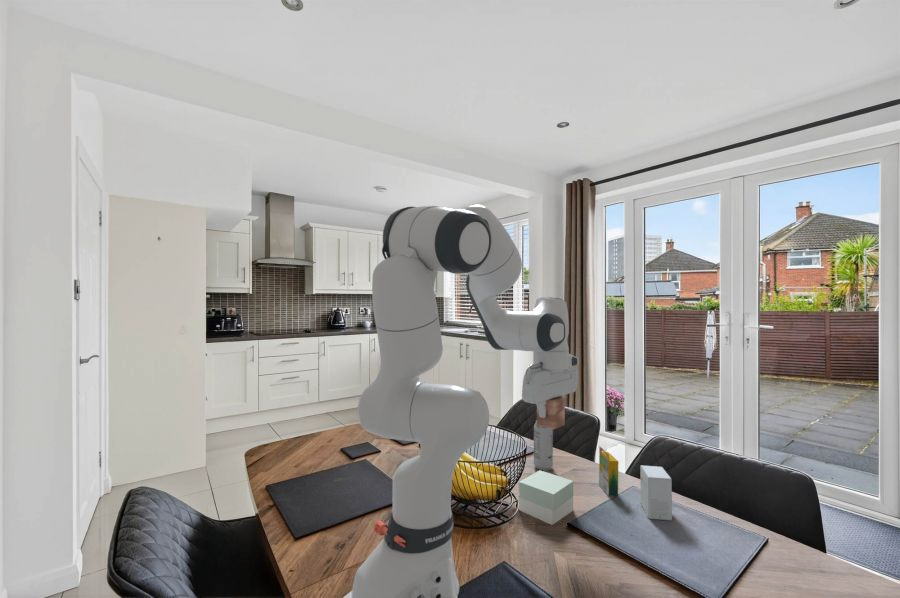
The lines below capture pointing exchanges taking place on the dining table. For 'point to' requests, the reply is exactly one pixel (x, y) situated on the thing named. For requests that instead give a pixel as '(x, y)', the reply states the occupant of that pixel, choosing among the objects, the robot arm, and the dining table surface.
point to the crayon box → (608, 473)
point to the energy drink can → (543, 447)
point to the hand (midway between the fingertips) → (550, 414)
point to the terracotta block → (553, 413)
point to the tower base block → (546, 510)
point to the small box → (656, 492)
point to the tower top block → (546, 489)
